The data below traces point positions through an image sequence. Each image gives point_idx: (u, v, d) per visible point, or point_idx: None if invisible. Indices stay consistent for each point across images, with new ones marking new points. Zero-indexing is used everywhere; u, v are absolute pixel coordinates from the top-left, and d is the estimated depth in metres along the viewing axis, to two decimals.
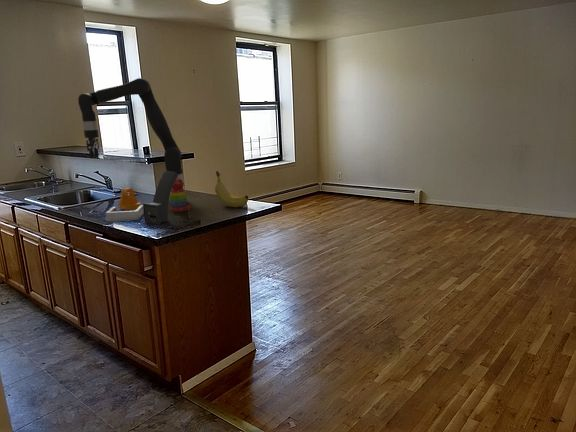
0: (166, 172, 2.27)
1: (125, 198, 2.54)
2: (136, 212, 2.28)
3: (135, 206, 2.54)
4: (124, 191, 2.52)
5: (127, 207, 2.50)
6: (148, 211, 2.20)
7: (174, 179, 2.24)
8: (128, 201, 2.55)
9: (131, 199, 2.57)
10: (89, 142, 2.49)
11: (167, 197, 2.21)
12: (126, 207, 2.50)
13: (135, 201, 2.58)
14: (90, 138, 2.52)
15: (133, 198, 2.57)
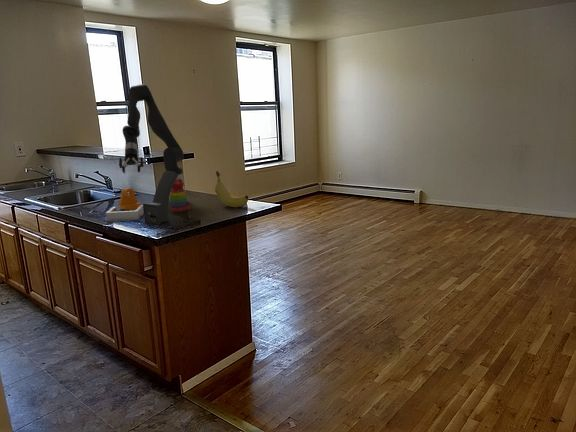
0: (166, 172, 2.27)
1: (125, 198, 2.54)
2: (136, 212, 2.28)
3: (135, 206, 2.54)
4: (124, 191, 2.52)
5: (127, 207, 2.50)
6: (148, 211, 2.20)
7: (174, 179, 2.24)
8: (128, 201, 2.55)
9: (131, 199, 2.57)
10: None
11: (167, 197, 2.21)
12: (126, 207, 2.50)
13: (135, 201, 2.58)
14: (125, 157, 2.73)
15: (133, 198, 2.57)
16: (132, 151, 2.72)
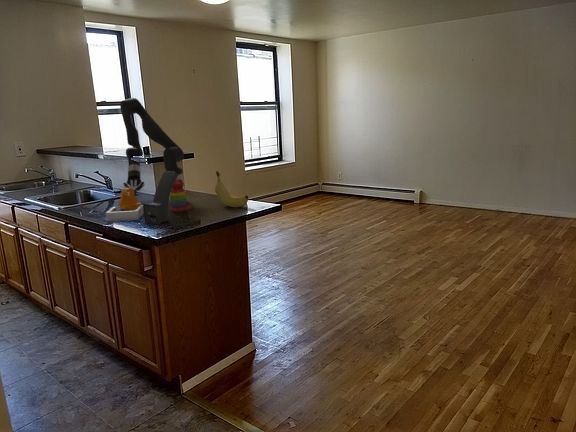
0: (166, 172, 2.27)
1: (125, 198, 2.54)
2: (136, 212, 2.28)
3: (135, 206, 2.54)
4: (124, 191, 2.52)
5: (127, 207, 2.50)
6: (148, 211, 2.20)
7: (174, 179, 2.24)
8: (128, 201, 2.55)
9: (131, 199, 2.57)
10: (124, 185, 2.73)
11: (167, 197, 2.21)
12: (126, 207, 2.50)
13: (135, 201, 2.58)
14: None
15: (133, 198, 2.57)
16: (135, 173, 2.75)
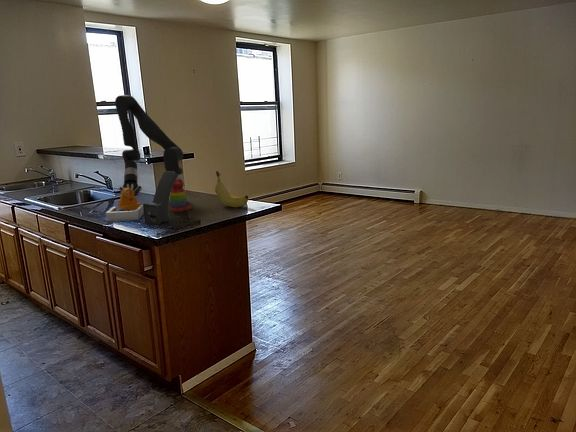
0: (166, 172, 2.27)
1: (125, 198, 2.53)
2: (136, 212, 2.28)
3: (135, 206, 2.52)
4: (124, 191, 2.51)
5: (127, 207, 2.49)
6: (148, 211, 2.20)
7: (174, 179, 2.24)
8: (127, 202, 2.54)
9: None
10: (120, 189, 2.58)
11: (167, 197, 2.21)
12: (126, 207, 2.49)
13: (135, 201, 2.57)
14: (124, 183, 2.61)
15: (133, 198, 2.56)
16: (131, 177, 2.60)
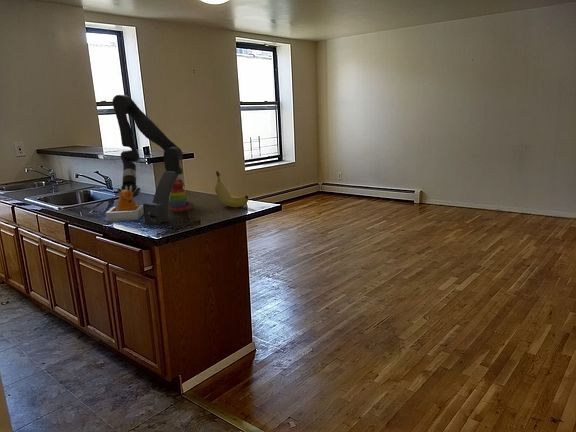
0: (166, 172, 2.27)
1: (123, 200, 2.47)
2: (136, 212, 2.28)
3: (134, 208, 2.47)
4: (123, 193, 2.45)
5: (127, 209, 2.44)
6: (148, 211, 2.20)
7: (174, 179, 2.24)
8: (126, 204, 2.49)
9: None
10: (118, 191, 2.53)
11: (167, 197, 2.21)
12: (126, 209, 2.43)
13: (133, 203, 2.52)
14: None
15: (131, 200, 2.51)
16: (130, 178, 2.54)
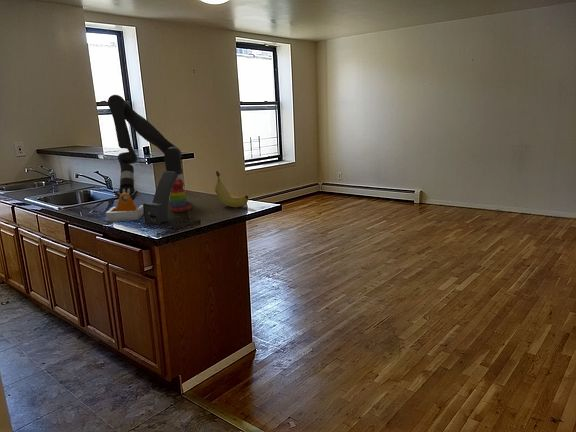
0: (166, 172, 2.27)
1: (121, 203, 2.39)
2: (136, 212, 2.28)
3: None
4: None
5: None
6: (148, 211, 2.20)
7: (174, 179, 2.24)
8: (124, 207, 2.40)
9: (128, 205, 2.40)
10: (116, 195, 2.43)
11: (167, 197, 2.21)
12: None
13: (133, 208, 2.41)
14: None
15: (131, 204, 2.40)
16: (128, 181, 2.45)
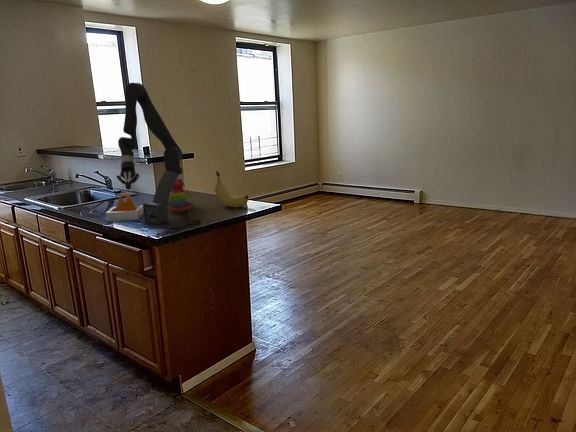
0: (166, 172, 2.27)
1: (121, 204, 2.38)
2: (136, 212, 2.28)
3: None
4: (119, 196, 2.37)
5: None
6: (148, 211, 2.20)
7: (174, 179, 2.24)
8: (124, 208, 2.39)
9: (128, 206, 2.39)
10: (117, 178, 2.50)
11: (167, 197, 2.21)
12: None
13: (133, 208, 2.40)
14: (121, 171, 2.53)
15: (130, 205, 2.40)
16: (128, 164, 2.52)
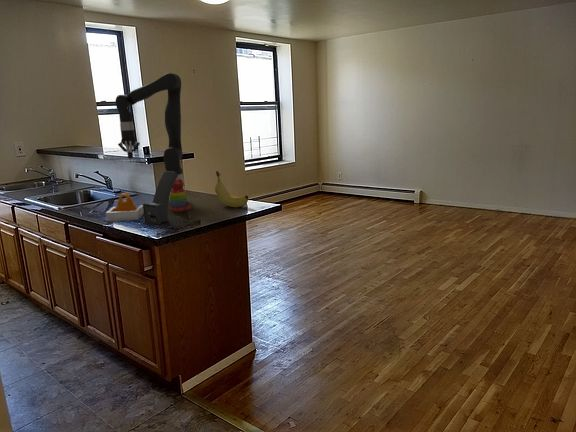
0: (166, 172, 2.27)
1: (121, 204, 2.38)
2: (136, 212, 2.28)
3: None
4: (119, 196, 2.37)
5: None
6: (148, 211, 2.20)
7: (174, 179, 2.24)
8: (124, 208, 2.39)
9: (128, 206, 2.39)
10: None
11: (167, 197, 2.21)
12: None
13: (133, 208, 2.40)
14: None
15: (130, 205, 2.40)
16: (128, 134, 2.60)
